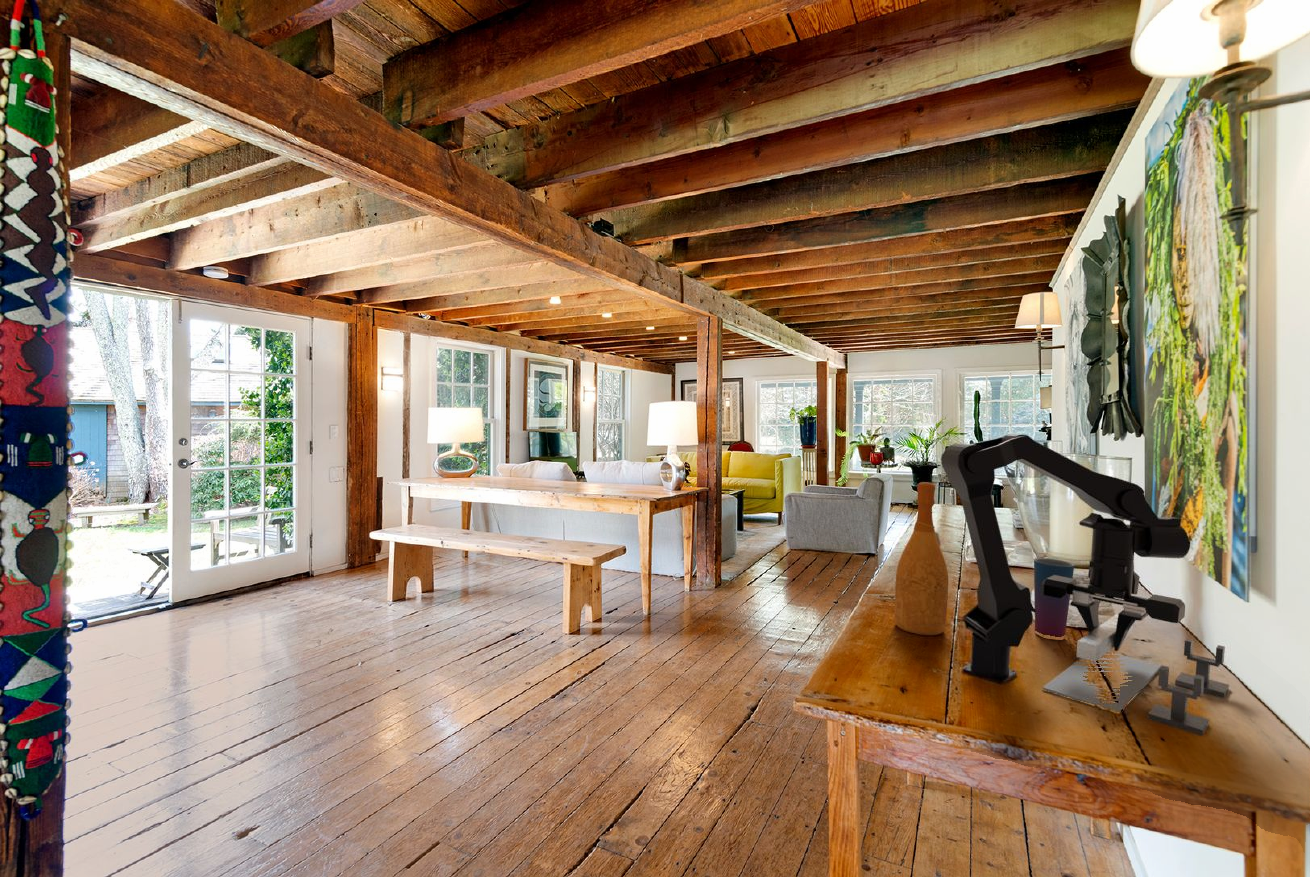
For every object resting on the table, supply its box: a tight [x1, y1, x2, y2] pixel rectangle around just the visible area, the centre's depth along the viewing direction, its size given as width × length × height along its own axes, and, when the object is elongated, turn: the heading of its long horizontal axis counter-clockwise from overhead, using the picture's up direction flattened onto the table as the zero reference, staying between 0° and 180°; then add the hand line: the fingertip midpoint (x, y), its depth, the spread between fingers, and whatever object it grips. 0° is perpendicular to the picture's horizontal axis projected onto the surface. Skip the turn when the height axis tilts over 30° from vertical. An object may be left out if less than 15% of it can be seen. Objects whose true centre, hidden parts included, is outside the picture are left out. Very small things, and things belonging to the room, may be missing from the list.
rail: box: [1076, 613, 1135, 662], centre depth 104 cm, size 23×2×2 cm, turn 131°
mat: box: [1042, 652, 1162, 712], centre depth 104 cm, size 28×10×1 cm, turn 131°
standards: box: [1147, 637, 1230, 736], centre depth 95 cm, size 24×6×7 cm, turn 131°
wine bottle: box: [894, 481, 949, 636], centre depth 125 cm, size 10×10×30 cm
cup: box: [1033, 557, 1075, 637], centre depth 124 cm, size 7×7×15 cm
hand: (1106, 648), depth 104 cm, fingers closed on rail, 2 cm apart
